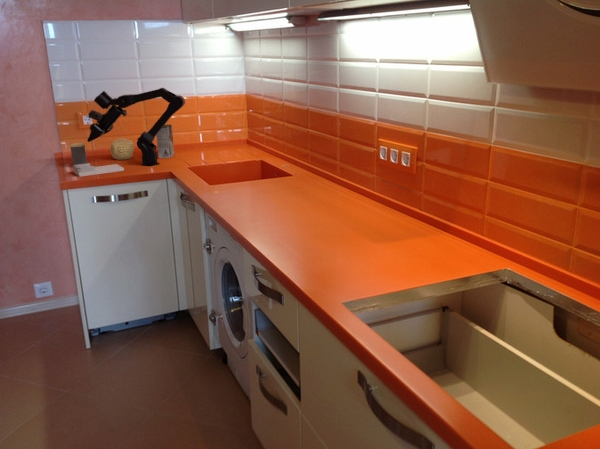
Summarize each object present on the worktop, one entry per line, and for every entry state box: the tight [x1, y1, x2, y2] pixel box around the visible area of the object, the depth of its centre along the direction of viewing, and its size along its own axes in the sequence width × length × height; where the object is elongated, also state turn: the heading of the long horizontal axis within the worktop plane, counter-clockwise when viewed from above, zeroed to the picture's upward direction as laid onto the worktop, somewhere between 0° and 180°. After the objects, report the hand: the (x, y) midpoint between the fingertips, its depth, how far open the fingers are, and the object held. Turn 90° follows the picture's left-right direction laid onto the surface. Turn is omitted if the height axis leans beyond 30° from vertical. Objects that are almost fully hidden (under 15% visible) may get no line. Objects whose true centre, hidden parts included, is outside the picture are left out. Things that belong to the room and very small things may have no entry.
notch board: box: [72, 162, 125, 178], centre depth 255 cm, size 20×11×4 cm, turn 124°
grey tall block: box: [69, 142, 88, 168], centre depth 265 cm, size 5×5×11 cm
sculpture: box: [109, 137, 135, 161], centre depth 281 cm, size 12×12×11 cm
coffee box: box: [155, 124, 175, 159], centre depth 285 cm, size 9×6×16 cm
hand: (91, 139), depth 263 cm, fingers open, 9 cm apart
